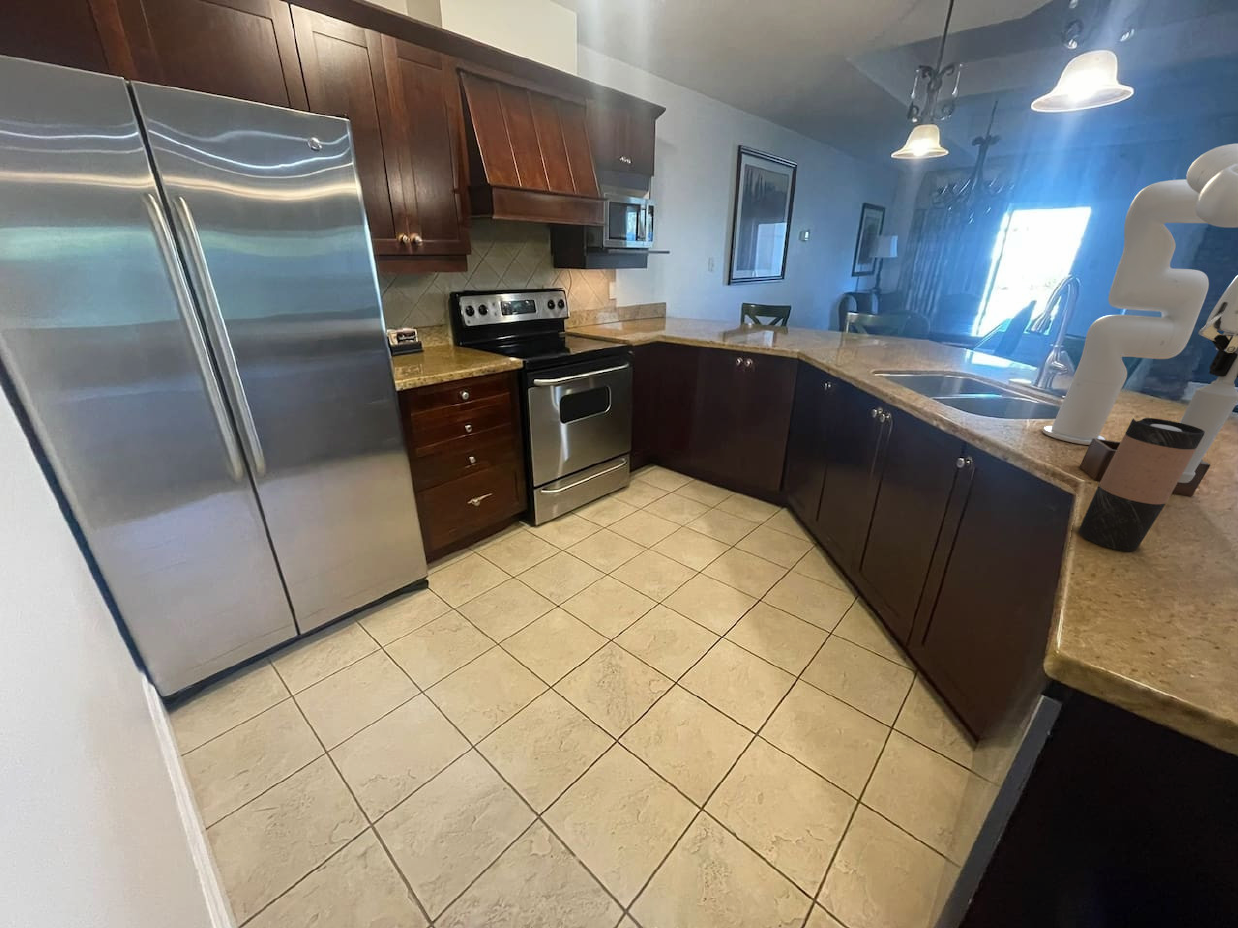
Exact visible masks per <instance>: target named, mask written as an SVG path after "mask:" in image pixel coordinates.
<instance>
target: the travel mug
mask: <svg viewBox="0 0 1238 928" xmlns="http://www.w3.org/2000/svg"><path fill="white" fill-rule="evenodd" d="M1204 433H1205V432H1204V431H1203V430H1202V429H1199V428H1197V427H1194V426H1190V425H1187V424H1183V423H1180V422H1179V421H1173V420H1167V419H1161V418H1155V417H1144V418H1142V419H1141V420H1136V419H1135V418H1132V419H1131V421H1130V424H1129V425H1128V427H1127V429H1126V431H1125V433H1124V435H1123V437H1122V439H1121V441H1120V442H1121V443H1120V445H1119V447H1118V448H1117V450H1116V452H1115V454H1114V456H1113V458H1112V460H1111V462H1110V464H1109V466H1108V468H1107V470H1106V472H1105V474H1104V476H1103V478H1102V479H1101V481H1099V484H1098V486H1097V488H1096V490H1095V492H1094V495H1093V497H1092V499H1091V501H1090V504H1089V505H1088V507H1087V510H1086V512H1085V515H1084V516H1083V519H1082V521H1081V523H1080V526H1079V528H1078V533H1079V535H1080V536H1081V537H1083V538H1084V539H1086V540H1088V541H1090V542H1091V543H1093V544H1095V545H1098V546H1101V547H1105V548H1108V549H1110V550H1115V551H1121V552H1135V551H1136V550H1137V549H1138V548H1139V547H1140V545H1141V544H1142V542H1143V541H1144V539H1145V538H1146V536H1147V535H1148V532H1150V530H1151V529H1152V527H1153V524H1154V523H1155V522H1156V520H1157V518H1158V517H1159V515H1160V514H1161V512H1162V511H1163V508H1164V507H1165V506H1166V504H1167V503H1168V501H1169V499H1170V498H1171V495H1172V494H1173V493H1172V492H1173V490H1174V488H1175V486H1176V484H1177V483H1178V481H1179V479H1180V477H1181V475H1182V474H1183V472H1184V470H1185V468H1186V466H1187V465H1188V463H1189V461H1190V459H1191V457H1192V456H1193V454H1194V452H1195V450H1196V448H1197V447H1198V445H1199V443H1200V441H1201V439H1202V438H1203V436H1204Z"/></svg>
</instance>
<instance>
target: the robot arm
mask: <svg viewBox="0 0 1238 928" xmlns="http://www.w3.org/2000/svg"><path fill="white" fill-rule="evenodd" d="M1185 177H1186V178H1183V179H1170V180H1163V181H1157V182H1155V183H1151V184H1149V185H1147V186H1145V187H1144V188H1142V189H1141V190H1140V191H1139V192H1138V193H1137V194H1136V195H1135V196H1134V199H1132V201H1131V203H1130V205H1129V207H1128V210H1127V212H1126V216H1125V219H1124V224H1123V225H1124V227H1123V240H1124V241H1123V250H1122V253H1121V257H1120V258H1119V259H1120V260H1119V263H1118V266H1117V267H1116V271H1115V274H1114V277H1113V280H1112V283H1111V285H1110V289H1109V293H1108V299H1107V301H1108V304H1109V305H1110V306H1111V307H1112V308H1115V309H1121V310H1130V311H1145V312H1158V313H1159V312H1160V314H1161V317H1159V316H1147V315H1135V314H1133V315H1132V314H1109V315H1105V316H1102V317H1099V318H1097V319H1096V320H1095V321H1093V322H1092V323H1091V325H1090V326H1089V328H1088V330H1087V333H1086V336H1085V341H1084V344H1083V345H1084V346H1083V349H1082V354H1081V356H1080V360H1079V363H1078V365H1077V367H1076V370H1075V372H1074V375H1073V376H1072V379H1071V382H1070V384H1069V386H1068V389H1067V392H1065V393H1066V394H1065V396H1064V398H1063V400H1062V403H1061V405H1060V407H1059V409H1058V412H1057V414H1056V416H1055V419H1054V422H1053V424H1052V425H1046V426H1044V427H1043V428H1042V433H1043V434H1044V435H1046V436H1048V437H1051V438H1053V439H1056V440H1060V441H1064V442H1068V443H1072V444H1077V445H1085V446H1089V445H1090V443H1091V441H1092V439H1093V438H1095V439H1102V440H1106V438H1105V437H1104V436H1102V435H1101V434H1102V433H1101V432H1102V430H1103V428H1104V427H1105V424H1106V422H1107V420H1108V418H1109V416H1110V414H1111V413H1112V410H1113V408H1114V407H1115V404H1116V401H1117V400H1118V397H1119V395H1120V393H1121V391H1122V389H1123V387H1124V385H1125V383H1126V381H1127V378H1128V370H1127V367H1126V365H1125V363H1124V361H1123V357H1125V358H1127V357H1128V358H1129V357H1130V358H1141V359H1153V360H1168V359H1171V358H1174V357H1177V356H1178V355H1180V353H1182V351H1184V349H1185V348H1186V347H1187V345H1188V343H1189V341H1190V338H1191V336H1192V333H1193V331H1194V329H1195V325H1196V324H1197V321H1198V319H1199V315H1200V313H1201V311H1202V307H1203V306H1204V303H1205V300H1206V297H1207V294H1208V291H1209V287H1210V281H1209V277H1208V275H1207V274H1206V273H1205V272H1203V271H1201V270H1198V269H1193V268H1192V269H1190V268H1172V267H1171V262H1172V259H1173V256H1174V253H1175V252H1176V247H1177V245H1176V240H1175V239H1174V236H1173V234H1172V232H1171V231H1170V230H1169V228H1168V227H1167V226H1166V225H1165V224H1209V225H1211V226H1214V227H1218V228H1234V229H1235V228H1237V229H1238V143H1230V144H1224V145H1220V146H1216V147H1214V148H1212V149H1209V150H1208V151H1206V152H1204V153H1203V154H1200V156H1198V157H1197V158H1196V159H1195V160H1194V161H1192V163H1191V165H1190V166H1189V168H1188V169H1187V172H1186V176H1185ZM1213 307H1214V308H1213V309H1212V311H1211V312H1210V314H1209V316H1208V318H1207V320H1206V323H1205V325H1204V326H1203V327H1202V328H1201V329H1199V330H1198V335H1200V336H1202V337H1203V338H1206V339H1207V340H1210V341H1211V342H1212V344H1213V345H1214V346H1215V350H1216V351H1217V353H1216V354H1215V356H1214V358H1213V360H1212V362H1211V364H1210V366H1209V372H1208V373H1209V375H1212V376H1216V377H1218V376H1219V377H1224V376H1226V375H1227V374H1228V372H1229V370H1230V368H1231V367H1232V365H1233V363H1234V361H1235V360H1236V358H1237V356H1238V354H1237V353H1235V351H1236V349H1237V347H1238V274H1237V275H1236V276H1235V278H1234V279H1233V280H1232V282H1231V283H1230V284H1229V285H1228V287H1226V290H1225V291H1224V292H1223V294H1222V295H1221V297H1220V298H1219V299H1218V301H1217V303H1216V304H1215V306H1213ZM1219 331H1220V332H1223V333H1220V332H1219ZM1236 378H1238V375H1237V377H1236Z"/></svg>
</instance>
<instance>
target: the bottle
mask: <svg viewBox="0 0 1238 928" xmlns="http://www.w3.org/2000/svg"><path fill="white" fill-rule="evenodd" d="M1235 353H1237V354H1238V347H1237V349H1236V351H1235ZM1237 375H1238V356H1237V358H1236V360H1235V361H1234V363H1233V365H1232V367H1231V368H1230V370H1229V372H1228V374H1227V375H1226V376H1224V377H1219V376H1217V378H1216V379H1215V380H1213V381H1211V383H1210V384H1207V385H1204V386H1201V387H1199V388H1196V389H1195V391H1194V393H1193V395H1192V397H1191V399H1190V401H1189V403H1188V405H1187V407H1186V409H1185V410H1184V413H1183V415H1182V417H1181V419H1180V420H1179V423H1183V424H1187V425H1190V426H1194V427H1197V428H1199V429H1202V430H1203V431H1204V432H1205V433H1204V436H1203V438H1202V439H1201V441H1200V443H1199V445H1198V447H1197V448H1196V450H1195V452H1194V454H1193V456H1192V457H1191V459H1190V461H1189V463H1188V465H1187V466H1186V468H1185V470H1184V472H1183V474H1182V475H1181V477H1180V479H1179V481H1178V482H1180V483H1188V482H1190V481H1191V480H1192V479H1193V477H1194V476H1195V472H1194V471H1195V470H1196V468H1197V467H1198V465H1199V463H1200V462H1201V460H1203V459H1204V457H1205V456H1206V454H1207V452H1208V451H1209V449H1210V447H1211V446H1212V444H1213V442H1214V441H1215V439H1216V438H1217V436H1218V435H1219V433H1220V431H1221V430H1222V428H1223V427H1224V425H1225V423H1226V422H1227V420H1228V418H1229V417H1230V415H1231V414H1232V412H1233V410H1234V408H1235V407H1236V405H1237V404H1238V390H1237V389H1236V388H1235V387H1236V384H1235V381H1236V379H1237V378H1238V377H1237Z"/></svg>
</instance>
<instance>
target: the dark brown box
mask: <svg viewBox="0 0 1238 928" xmlns="http://www.w3.org/2000/svg"><path fill="white" fill-rule="evenodd" d="M1120 443H1121V441H1116V440H1109V439H1105V440H1102V439H1095V438H1093V439H1092V441H1091V443H1090V445H1088V447H1087V449H1086V451H1085V454H1084V456H1083V457H1082V460H1081V462H1080V464H1079V466H1078V467H1079V468H1080V469H1081V470H1082V471H1083V472H1084V473H1086V474H1087V475H1088V477H1090V478H1091V479H1092V480H1093V481H1098V482H1100V481H1101V479H1102V478H1103V476H1104V474H1105V472H1106V470H1107V468H1108V466H1109V464H1110V462H1111V460H1112V458H1113V456H1114V454H1115V452H1116V450H1117V448H1118V447H1119V445H1120ZM1210 467H1211V463H1209V462H1206V461H1205V460H1203V459H1202V460H1201V462H1200V463H1199V465H1198V467H1197V468H1196V470H1195V471H1194V472H1195V476H1194V477H1193V479H1192V480H1191V481H1190V482H1188V483H1180V482H1178V483H1177V484H1176V486H1175V488H1174V490H1173V492H1172V493H1171V494H1176V495H1181V496H1188V497H1193V496H1194V494H1195V492H1196V491H1197V489H1198V487H1199V485H1200V484H1201V483H1202V480H1203V479H1204V477H1205V475H1206V474H1207V472H1208V471H1209V469H1210Z"/></svg>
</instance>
